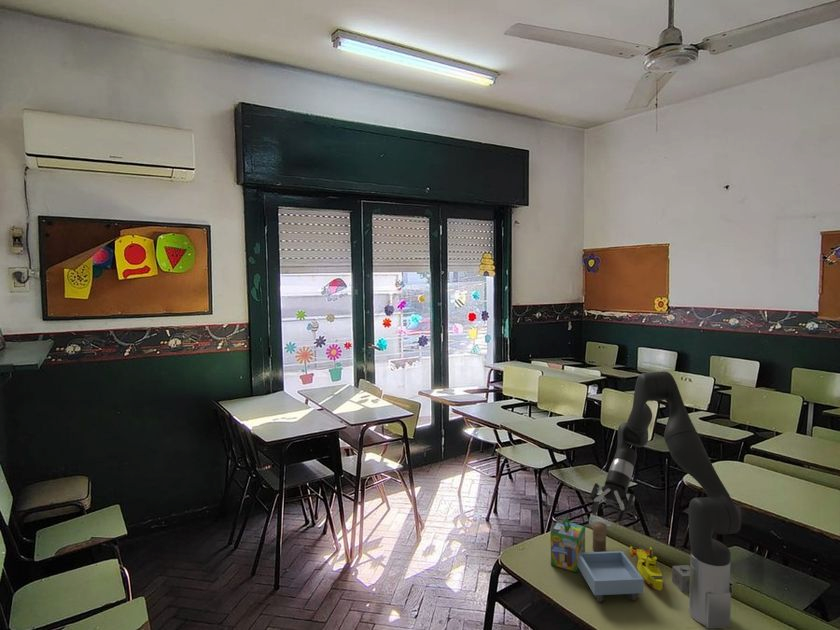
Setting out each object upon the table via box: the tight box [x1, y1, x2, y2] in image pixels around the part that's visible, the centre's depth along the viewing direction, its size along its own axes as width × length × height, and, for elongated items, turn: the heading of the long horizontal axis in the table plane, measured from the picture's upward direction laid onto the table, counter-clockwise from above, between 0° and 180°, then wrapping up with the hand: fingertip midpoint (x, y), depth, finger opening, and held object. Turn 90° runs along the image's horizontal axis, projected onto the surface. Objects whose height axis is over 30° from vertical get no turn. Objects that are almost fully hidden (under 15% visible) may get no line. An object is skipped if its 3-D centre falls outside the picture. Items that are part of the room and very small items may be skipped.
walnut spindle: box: [592, 521, 607, 552], centre depth 167 cm, size 4×4×9 cm
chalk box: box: [550, 514, 586, 574], centre depth 160 cm, size 9×9×15 cm
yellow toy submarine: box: [629, 546, 664, 591], centre depth 151 cm, size 6×18×10 cm, turn 174°
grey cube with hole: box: [671, 564, 690, 593], centre depth 148 cm, size 5×5×5 cm
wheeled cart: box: [577, 550, 645, 603], centre depth 147 cm, size 14×14×7 cm
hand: (605, 517), depth 170 cm, fingers open, 8 cm apart
